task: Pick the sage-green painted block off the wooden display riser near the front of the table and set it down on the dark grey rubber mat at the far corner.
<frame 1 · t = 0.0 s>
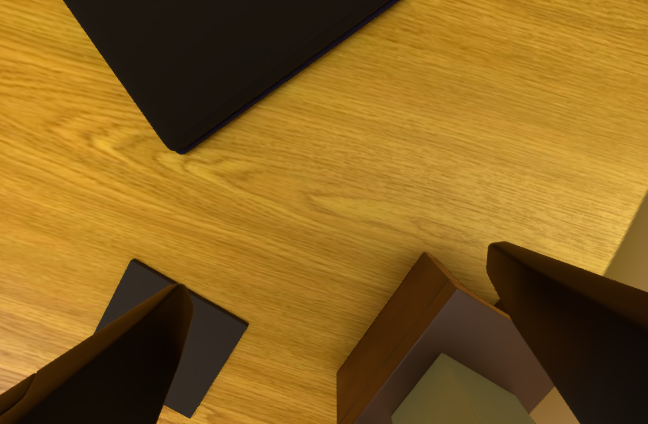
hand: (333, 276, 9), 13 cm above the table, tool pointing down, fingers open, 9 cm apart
block: (451, 405, 17), point 6 cm above the table, touching wooden display riser
mat: (164, 340, 24), on the table
wooden display riser: (421, 341, 23), on the table
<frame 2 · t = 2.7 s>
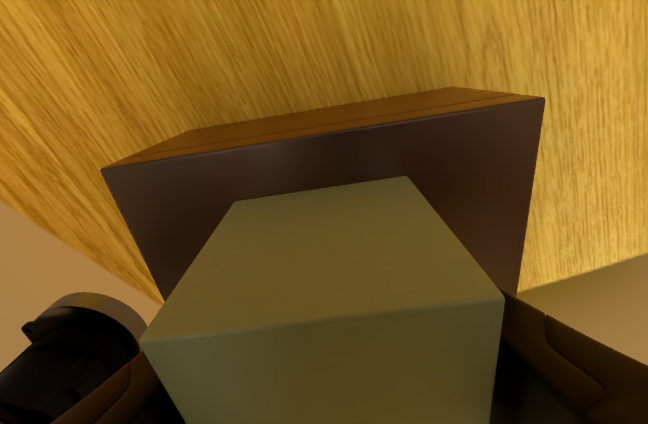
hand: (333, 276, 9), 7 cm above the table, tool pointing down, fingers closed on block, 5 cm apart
block: (331, 260, 10), point 6 cm above the table, touching gripper, wooden display riser
wooden display riser: (329, 192, 15), on the table
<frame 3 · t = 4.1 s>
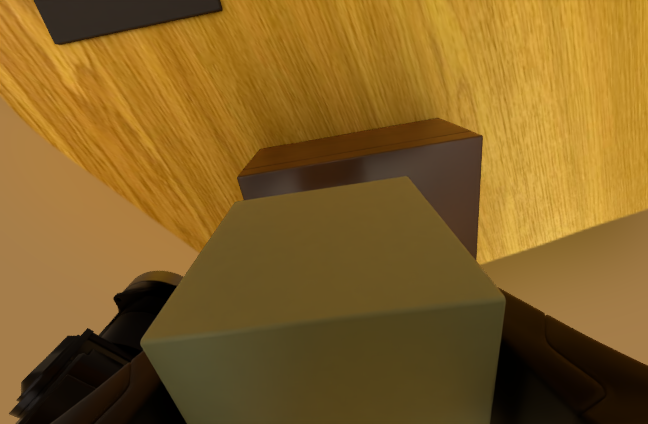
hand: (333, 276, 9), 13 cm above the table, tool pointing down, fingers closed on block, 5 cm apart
block: (332, 260, 10), point 12 cm above the table, touching gripper
wooden display riser: (354, 189, 21), on the table
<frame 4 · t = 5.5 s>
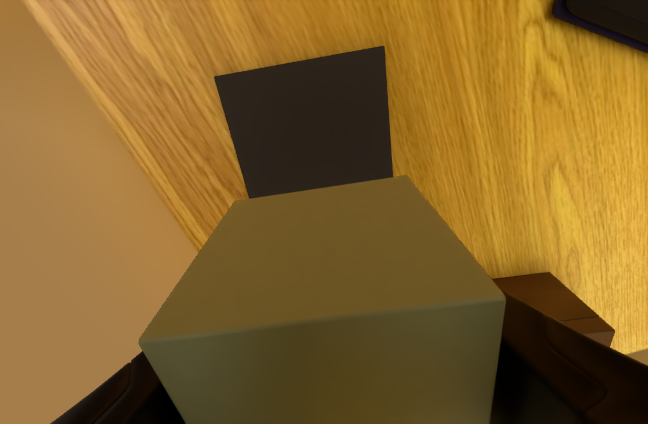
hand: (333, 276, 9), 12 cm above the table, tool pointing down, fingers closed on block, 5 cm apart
block: (331, 260, 9), point 12 cm above the table, touching gripper
mat: (312, 145, 20), on the table
wooden display riser: (471, 318, 26), on the table
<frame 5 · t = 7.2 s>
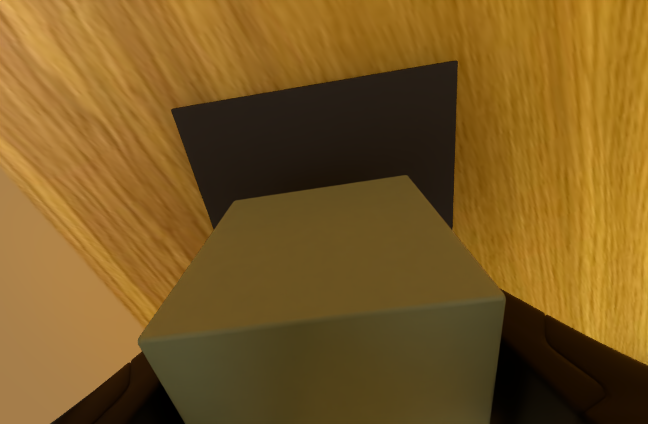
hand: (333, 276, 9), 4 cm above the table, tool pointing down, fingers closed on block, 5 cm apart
block: (331, 260, 9), point 4 cm above the table, touching gripper
mat: (330, 211, 13), on the table
when the fingers open (1 cm above the table, at t = 8.5 s): block stays where it is, resting on mat.
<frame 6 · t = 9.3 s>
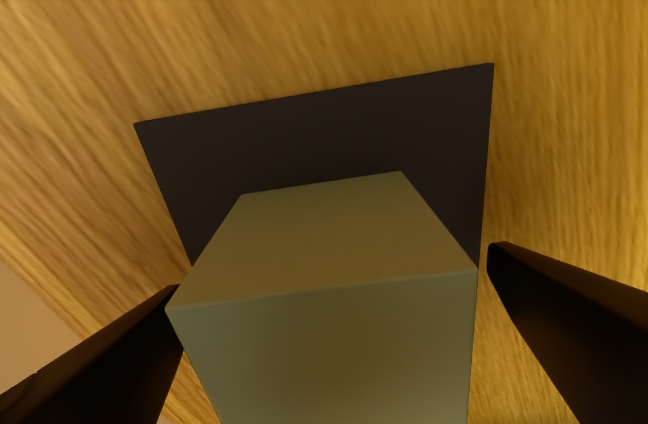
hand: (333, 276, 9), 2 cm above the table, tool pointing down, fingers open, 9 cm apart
block: (331, 250, 10), resting on mat
mat: (332, 243, 11), on the table
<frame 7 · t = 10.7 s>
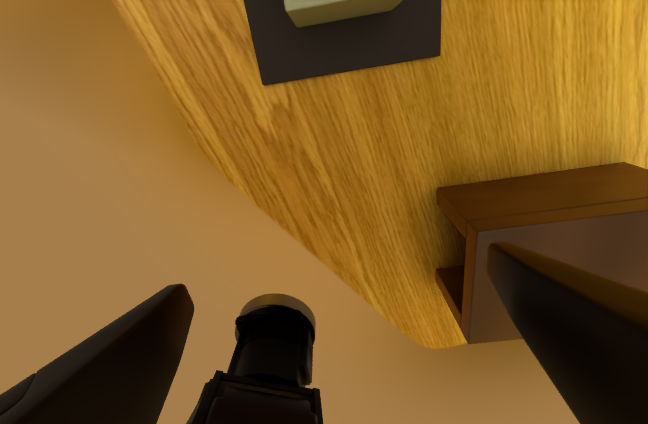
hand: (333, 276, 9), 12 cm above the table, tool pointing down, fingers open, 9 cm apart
wooden display riser: (520, 227, 21), on the table
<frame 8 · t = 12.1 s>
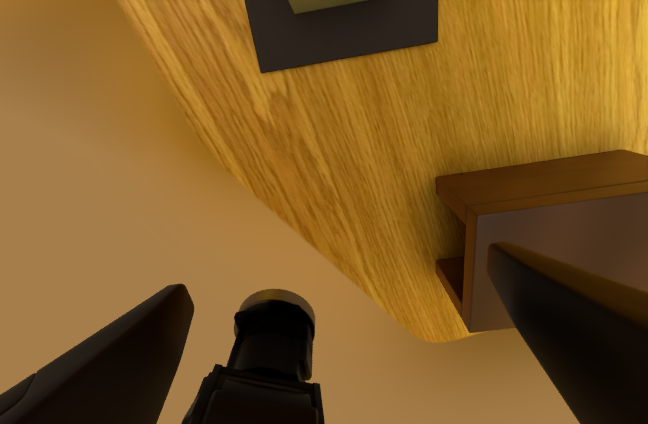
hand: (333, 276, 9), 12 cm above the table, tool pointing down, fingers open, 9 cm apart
wooden display riser: (520, 217, 21), on the table
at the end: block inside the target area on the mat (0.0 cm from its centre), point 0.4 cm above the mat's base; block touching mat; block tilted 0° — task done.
